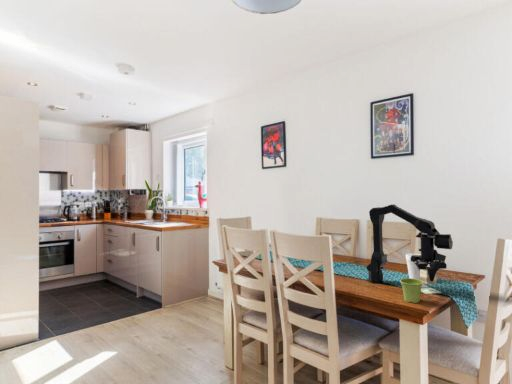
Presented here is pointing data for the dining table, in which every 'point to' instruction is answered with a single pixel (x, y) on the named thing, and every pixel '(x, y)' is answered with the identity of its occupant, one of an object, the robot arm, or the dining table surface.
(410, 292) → the plant pot
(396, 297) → the dining table surface
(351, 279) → the dining table surface
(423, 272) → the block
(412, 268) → the foam cup
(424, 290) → the pad
